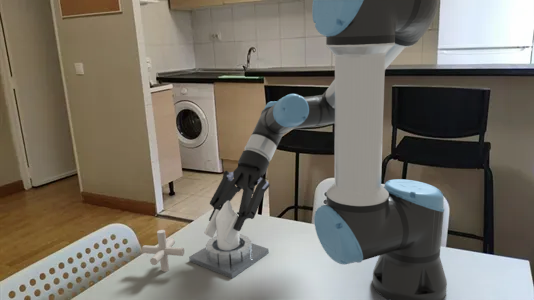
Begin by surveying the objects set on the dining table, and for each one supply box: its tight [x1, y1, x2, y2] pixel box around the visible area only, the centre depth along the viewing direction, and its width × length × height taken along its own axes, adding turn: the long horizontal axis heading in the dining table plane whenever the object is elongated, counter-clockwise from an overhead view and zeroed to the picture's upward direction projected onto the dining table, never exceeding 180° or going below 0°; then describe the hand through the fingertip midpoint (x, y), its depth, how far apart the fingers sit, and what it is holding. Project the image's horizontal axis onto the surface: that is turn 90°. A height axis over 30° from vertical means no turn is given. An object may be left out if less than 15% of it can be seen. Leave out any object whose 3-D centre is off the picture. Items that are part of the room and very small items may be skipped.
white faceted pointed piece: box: [216, 200, 240, 250], centre depth 107 cm, size 6×12×6 cm
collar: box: [188, 233, 270, 279], centre depth 109 cm, size 14×14×4 cm
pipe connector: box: [141, 229, 185, 272], centre depth 103 cm, size 10×10×10 cm
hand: (217, 238), depth 105 cm, fingers closed on white faceted pointed piece, 5 cm apart
